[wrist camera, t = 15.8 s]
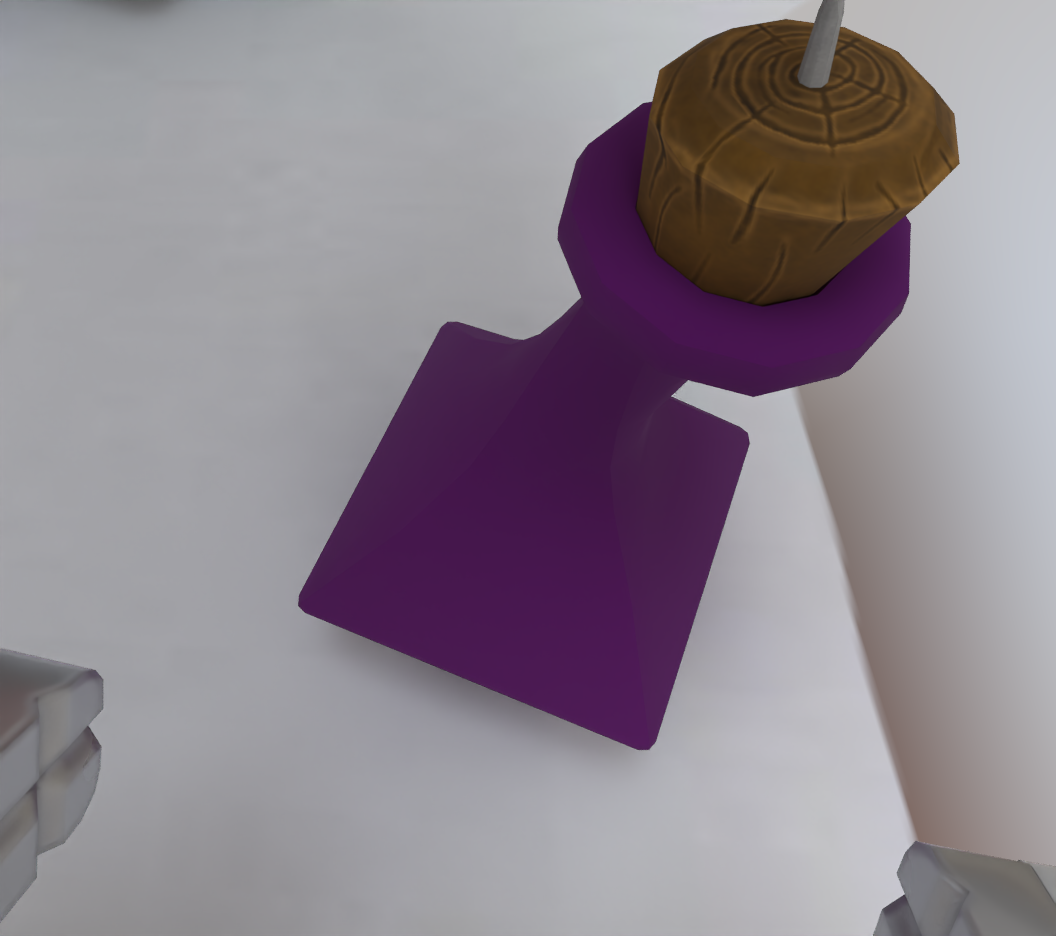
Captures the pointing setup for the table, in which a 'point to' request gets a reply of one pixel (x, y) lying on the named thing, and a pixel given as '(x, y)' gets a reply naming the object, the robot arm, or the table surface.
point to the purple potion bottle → (641, 375)
